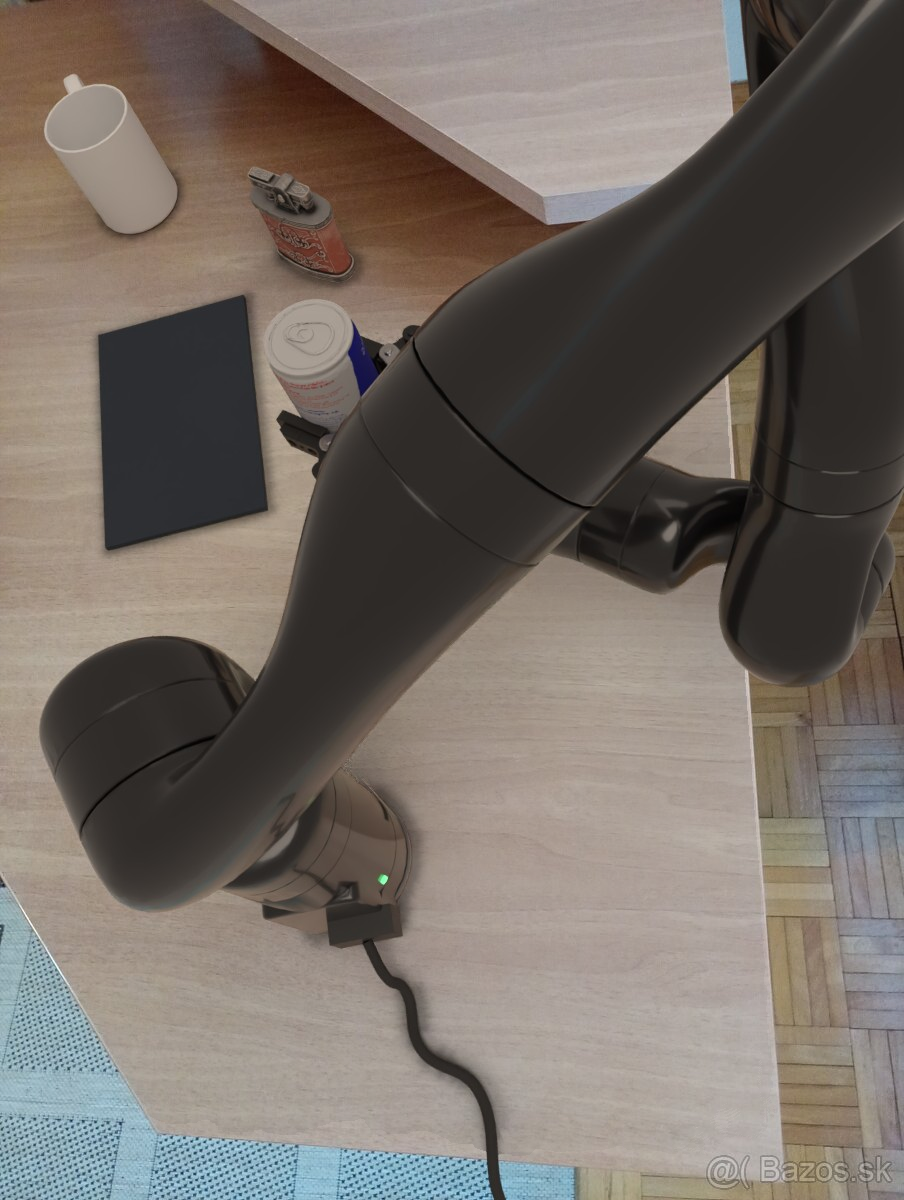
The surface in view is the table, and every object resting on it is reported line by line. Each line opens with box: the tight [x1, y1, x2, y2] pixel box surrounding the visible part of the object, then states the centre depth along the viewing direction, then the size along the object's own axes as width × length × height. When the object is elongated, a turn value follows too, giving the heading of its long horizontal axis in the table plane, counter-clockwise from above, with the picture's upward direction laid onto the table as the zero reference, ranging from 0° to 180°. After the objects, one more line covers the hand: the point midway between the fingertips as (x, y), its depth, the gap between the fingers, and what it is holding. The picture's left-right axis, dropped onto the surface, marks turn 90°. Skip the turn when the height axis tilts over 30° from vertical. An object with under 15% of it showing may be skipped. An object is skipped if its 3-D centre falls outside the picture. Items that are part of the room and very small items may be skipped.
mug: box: [43, 73, 179, 235], centre depth 99 cm, size 12×8×10 cm, turn 25°
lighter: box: [247, 166, 357, 284], centre depth 91 cm, size 8×3×10 cm, turn 58°
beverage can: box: [262, 298, 379, 434], centre depth 69 cm, size 6×6×15 cm
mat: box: [97, 294, 269, 551], centre depth 92 cm, size 22×14×1 cm, turn 10°
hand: (309, 384), depth 69 cm, fingers closed on beverage can, 5 cm apart
